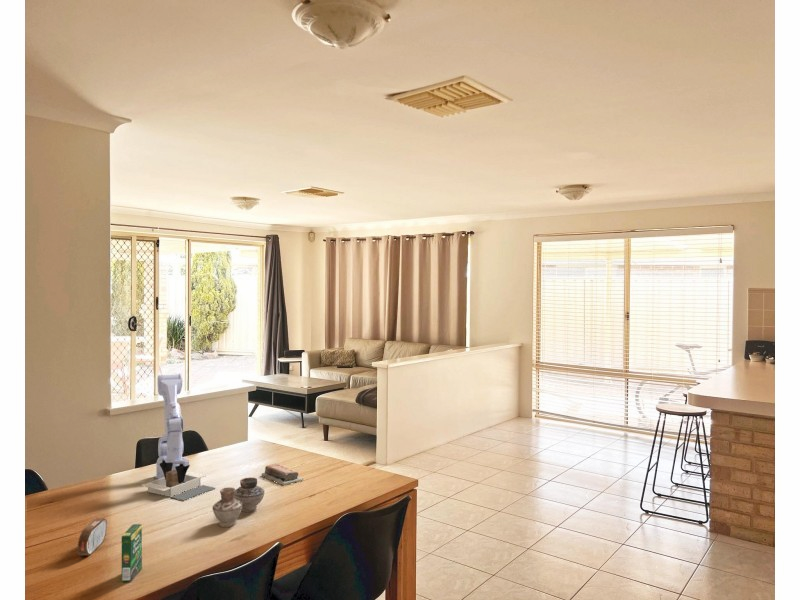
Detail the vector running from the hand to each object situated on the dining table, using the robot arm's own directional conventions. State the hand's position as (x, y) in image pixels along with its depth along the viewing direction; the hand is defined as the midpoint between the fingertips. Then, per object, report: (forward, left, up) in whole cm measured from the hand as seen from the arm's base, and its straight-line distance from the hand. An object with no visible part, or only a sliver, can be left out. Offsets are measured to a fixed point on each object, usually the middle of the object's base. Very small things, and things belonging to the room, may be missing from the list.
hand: (174, 481), depth 232 cm
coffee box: (+48, -55, -3) cm, 73 cm away
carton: (0, 0, -3) cm, 3 cm away
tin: (+23, -50, -3) cm, 55 cm away
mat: (+11, 0, -3) cm, 11 cm away
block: (0, 0, -3) cm, 3 cm away
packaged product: (+29, +32, -4) cm, 43 cm away
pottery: (+43, -8, -4) cm, 44 cm away
